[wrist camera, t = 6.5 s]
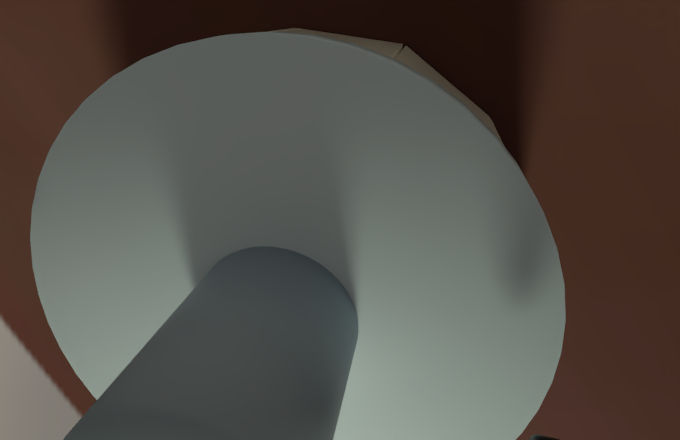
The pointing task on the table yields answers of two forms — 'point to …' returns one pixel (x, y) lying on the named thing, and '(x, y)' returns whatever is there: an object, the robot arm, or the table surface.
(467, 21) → the table surface
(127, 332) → the lid
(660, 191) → the table surface
